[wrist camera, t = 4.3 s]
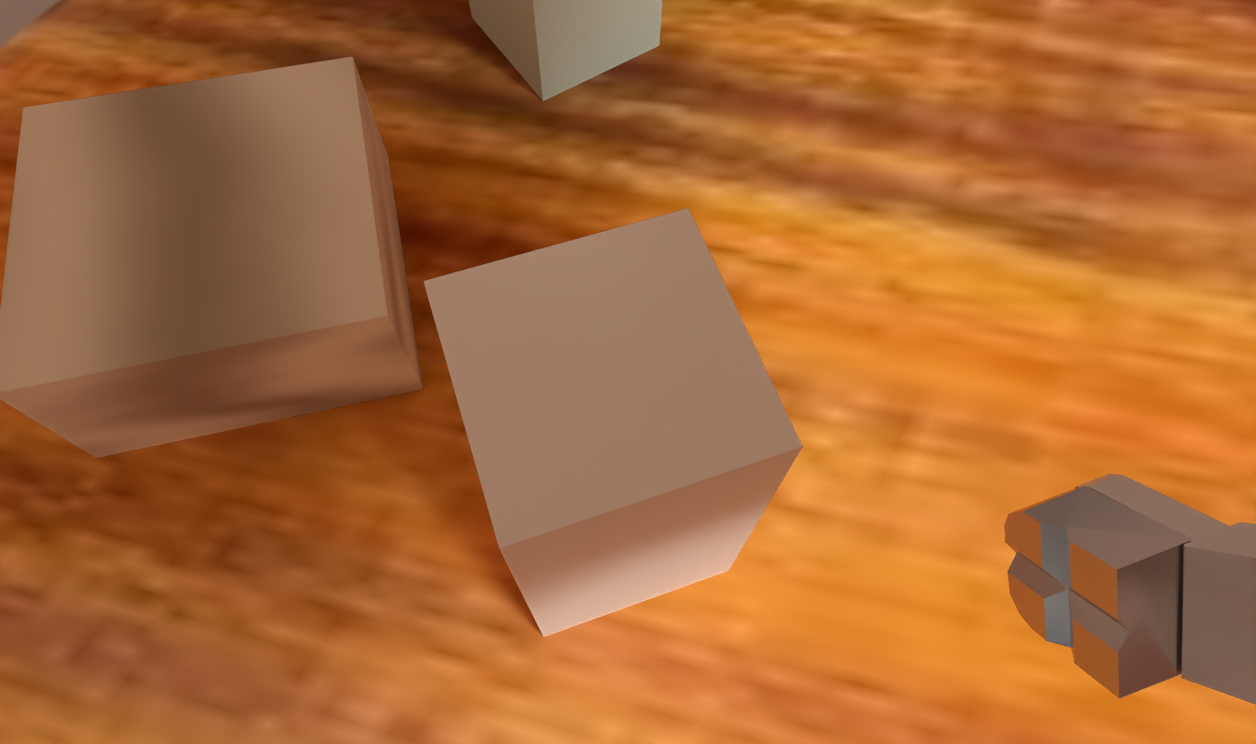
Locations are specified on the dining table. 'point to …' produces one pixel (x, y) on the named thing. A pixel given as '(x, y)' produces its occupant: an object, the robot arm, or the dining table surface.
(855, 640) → the dining table surface
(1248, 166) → the dining table surface
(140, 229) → the birch slab
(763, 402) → the cream pillar
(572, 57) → the sage pillar
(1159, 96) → the dining table surface
